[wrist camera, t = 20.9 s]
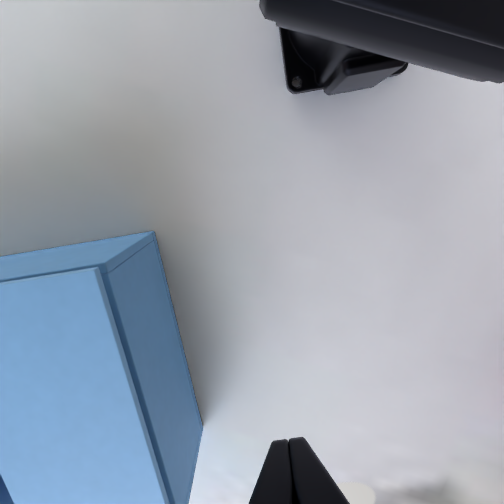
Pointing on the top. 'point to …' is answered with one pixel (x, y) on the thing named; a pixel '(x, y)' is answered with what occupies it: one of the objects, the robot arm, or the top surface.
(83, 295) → the flap
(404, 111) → the top surface
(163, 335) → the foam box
